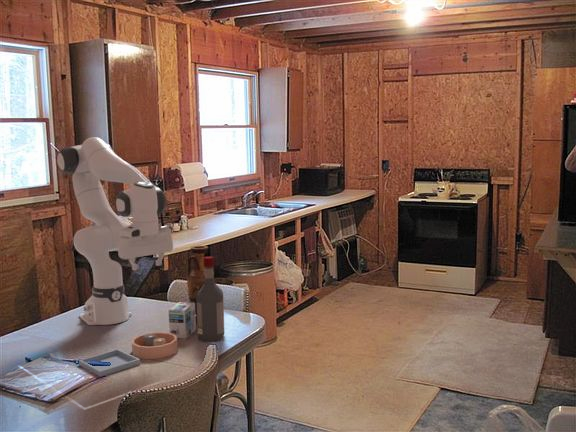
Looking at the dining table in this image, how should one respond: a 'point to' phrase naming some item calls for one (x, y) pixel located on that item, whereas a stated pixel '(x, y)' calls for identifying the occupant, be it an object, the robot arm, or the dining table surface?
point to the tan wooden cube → (159, 341)
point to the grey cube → (149, 340)
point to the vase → (196, 274)
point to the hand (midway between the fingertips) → (147, 267)
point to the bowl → (154, 351)
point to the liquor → (210, 307)
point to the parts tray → (115, 357)
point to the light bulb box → (182, 319)
